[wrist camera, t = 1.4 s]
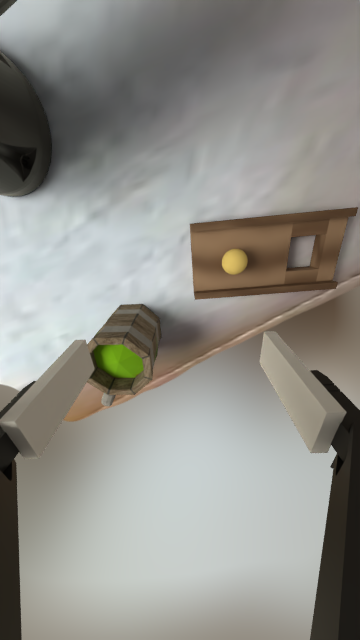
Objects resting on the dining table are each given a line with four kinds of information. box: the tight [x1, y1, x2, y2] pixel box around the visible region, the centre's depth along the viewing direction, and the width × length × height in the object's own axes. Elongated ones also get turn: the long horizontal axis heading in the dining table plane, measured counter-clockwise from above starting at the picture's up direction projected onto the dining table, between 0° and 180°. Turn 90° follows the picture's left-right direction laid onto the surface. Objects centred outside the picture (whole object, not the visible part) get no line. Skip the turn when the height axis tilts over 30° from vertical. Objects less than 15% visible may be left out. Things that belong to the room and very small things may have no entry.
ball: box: [222, 249, 248, 275], centre depth 28 cm, size 4×4×4 cm
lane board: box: [190, 207, 358, 299], centre depth 30 cm, size 11×22×4 cm, turn 95°
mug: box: [87, 304, 161, 406], centre depth 33 cm, size 16×11×12 cm
